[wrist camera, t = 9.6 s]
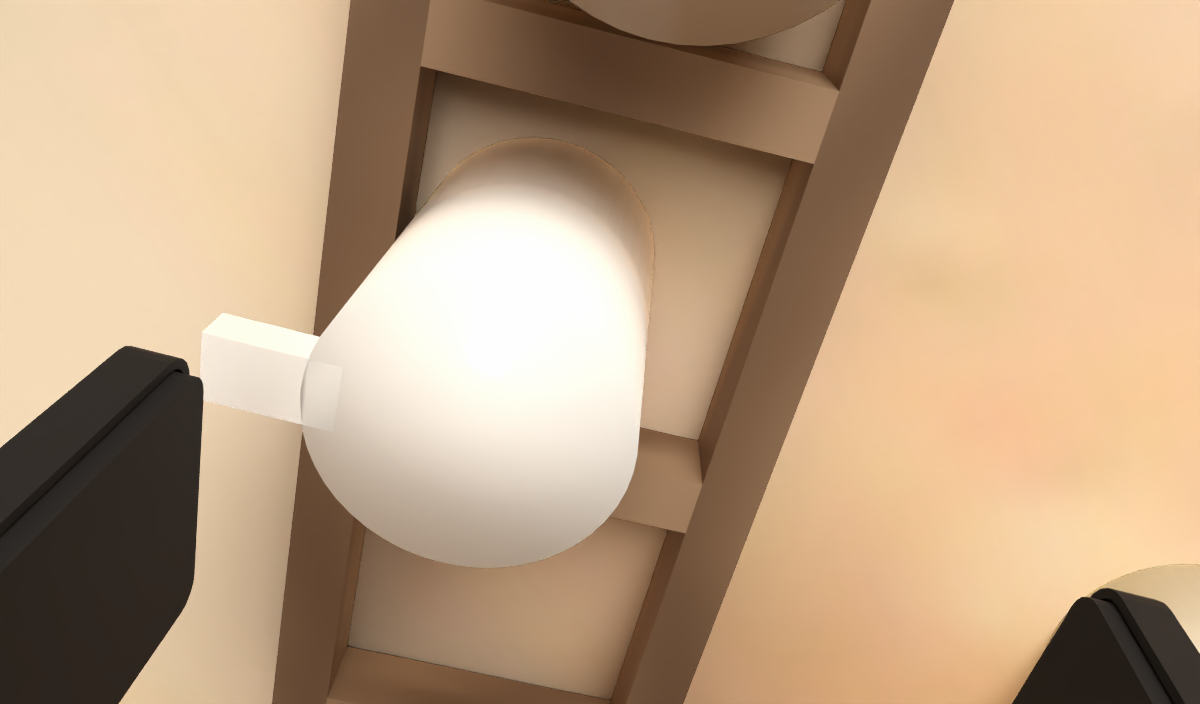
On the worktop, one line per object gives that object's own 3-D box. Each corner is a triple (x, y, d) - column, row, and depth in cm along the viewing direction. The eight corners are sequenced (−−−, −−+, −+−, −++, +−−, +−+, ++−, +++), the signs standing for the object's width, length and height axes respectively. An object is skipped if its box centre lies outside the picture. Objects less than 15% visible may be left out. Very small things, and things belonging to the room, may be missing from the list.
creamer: (681, 171, 17) (678, 325, 11) (622, 379, 19) (594, 600, 13) (372, 92, 17) (208, 205, 11) (344, 310, 19) (193, 502, 13)
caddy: (1094, -467, 13) (1150, -509, 12) (645, 744, 24) (645, 799, 22) (456, -659, 12) (432, -728, 11) (292, 671, 23) (270, 724, 22)
